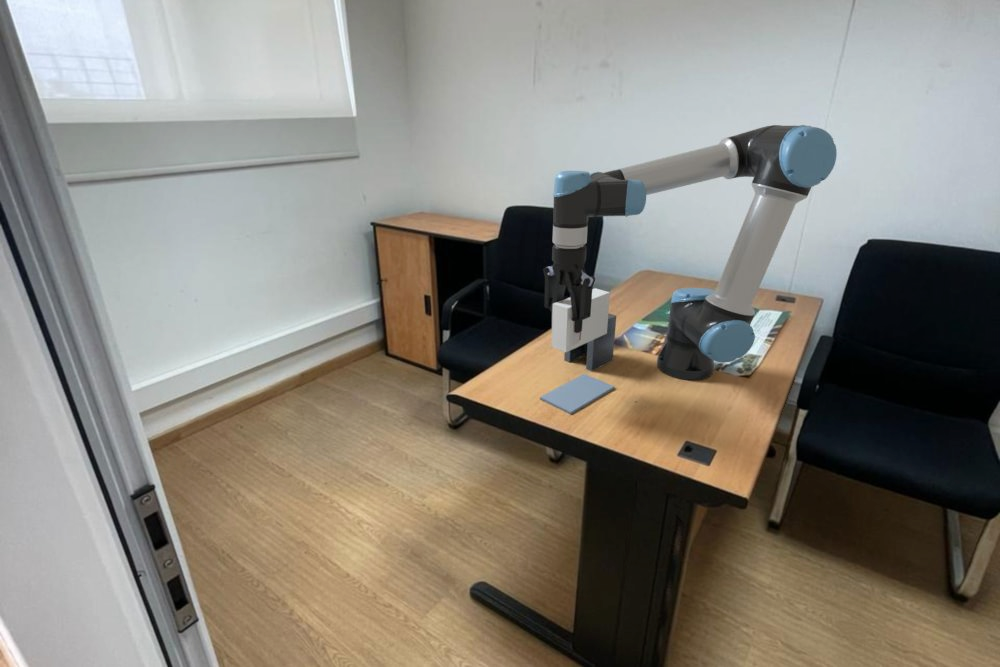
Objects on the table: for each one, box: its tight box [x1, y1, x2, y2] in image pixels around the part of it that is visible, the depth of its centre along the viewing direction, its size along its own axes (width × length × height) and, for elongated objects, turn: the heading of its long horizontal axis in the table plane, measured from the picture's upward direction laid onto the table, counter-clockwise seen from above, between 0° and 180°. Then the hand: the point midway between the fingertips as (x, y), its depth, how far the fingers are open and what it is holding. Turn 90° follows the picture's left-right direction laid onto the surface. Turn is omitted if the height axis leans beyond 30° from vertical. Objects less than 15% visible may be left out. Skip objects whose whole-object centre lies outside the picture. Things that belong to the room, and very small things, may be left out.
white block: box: [550, 287, 611, 353], centre depth 123 cm, size 4×16×11 cm, turn 133°
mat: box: [539, 373, 615, 415], centre depth 130 cm, size 10×18×1 cm, turn 133°
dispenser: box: [563, 312, 617, 372], centre depth 145 cm, size 10×10×14 cm
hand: (565, 340), depth 121 cm, fingers closed on white block, 4 cm apart
